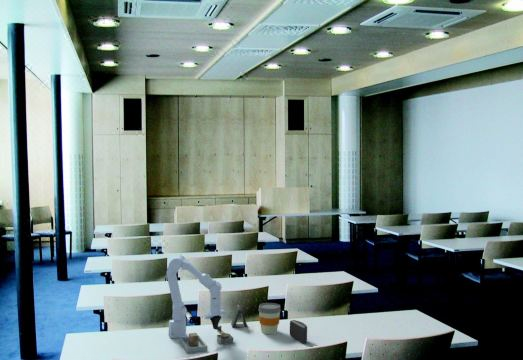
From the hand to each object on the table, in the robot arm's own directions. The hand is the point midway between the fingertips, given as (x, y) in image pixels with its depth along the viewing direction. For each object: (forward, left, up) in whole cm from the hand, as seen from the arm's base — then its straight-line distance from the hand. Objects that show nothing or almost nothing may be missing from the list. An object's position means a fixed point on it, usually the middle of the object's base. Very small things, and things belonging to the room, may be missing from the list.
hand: (215, 329), depth 328 cm
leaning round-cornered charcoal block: (+42, -18, -5) cm, 46 cm away
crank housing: (+3, -5, -5) cm, 8 cm away
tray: (-15, -11, -5) cm, 19 cm away
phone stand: (+19, +15, -5) cm, 25 cm away
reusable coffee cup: (+32, 0, -5) cm, 32 cm away
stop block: (-15, -11, -4) cm, 19 cm away
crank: (+3, -5, -1) cm, 6 cm away
